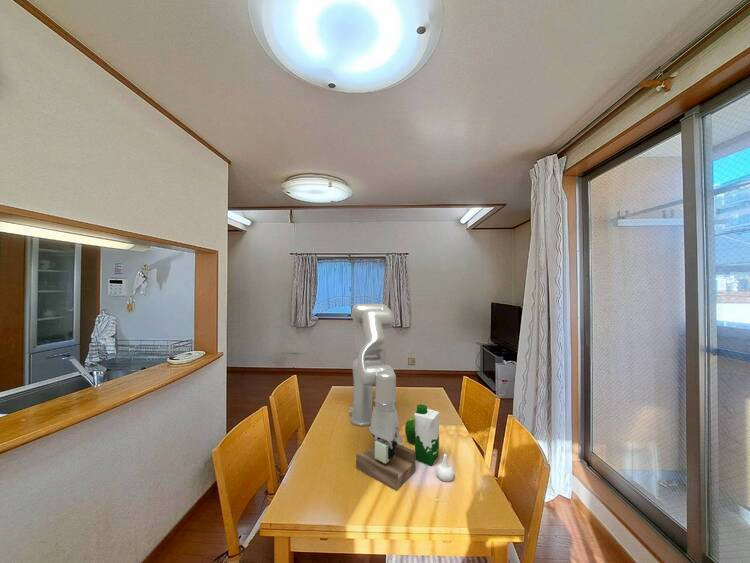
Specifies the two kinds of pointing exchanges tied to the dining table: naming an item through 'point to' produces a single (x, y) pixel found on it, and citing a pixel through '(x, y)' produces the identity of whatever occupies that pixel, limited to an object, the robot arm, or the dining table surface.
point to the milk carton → (426, 435)
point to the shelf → (388, 466)
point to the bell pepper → (410, 430)
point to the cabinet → (382, 450)
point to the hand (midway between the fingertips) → (384, 454)
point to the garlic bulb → (445, 470)
